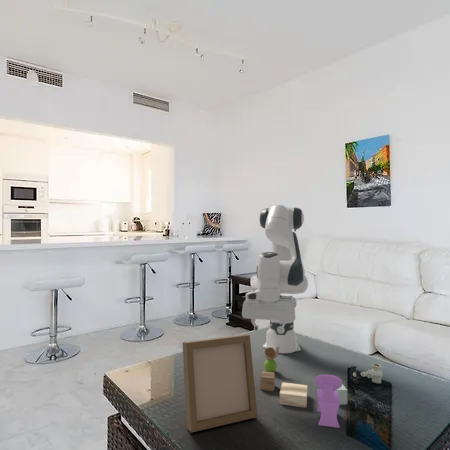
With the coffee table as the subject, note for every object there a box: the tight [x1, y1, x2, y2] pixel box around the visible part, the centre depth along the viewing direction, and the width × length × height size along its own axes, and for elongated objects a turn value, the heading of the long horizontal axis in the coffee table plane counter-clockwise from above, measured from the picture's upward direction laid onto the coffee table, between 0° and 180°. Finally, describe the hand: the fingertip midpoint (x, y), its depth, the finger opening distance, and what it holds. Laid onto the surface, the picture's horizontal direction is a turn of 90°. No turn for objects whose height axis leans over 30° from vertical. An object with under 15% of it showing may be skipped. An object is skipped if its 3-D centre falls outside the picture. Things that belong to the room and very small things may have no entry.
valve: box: [349, 362, 383, 384], centre depth 136 cm, size 7×7×12 cm
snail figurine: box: [263, 344, 279, 373], centre depth 145 cm, size 5×6×12 cm
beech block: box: [279, 381, 308, 409], centre depth 121 cm, size 9×9×4 cm
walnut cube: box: [259, 370, 276, 392], centre depth 130 cm, size 5×5×5 cm
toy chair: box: [314, 373, 343, 429], centre depth 109 cm, size 8×9×15 cm
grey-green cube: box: [335, 383, 348, 405], centre depth 121 cm, size 5×5×5 cm
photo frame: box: [182, 334, 258, 434], centre depth 110 cm, size 15×22×25 cm
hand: (268, 331), depth 131 cm, fingers open, 8 cm apart
